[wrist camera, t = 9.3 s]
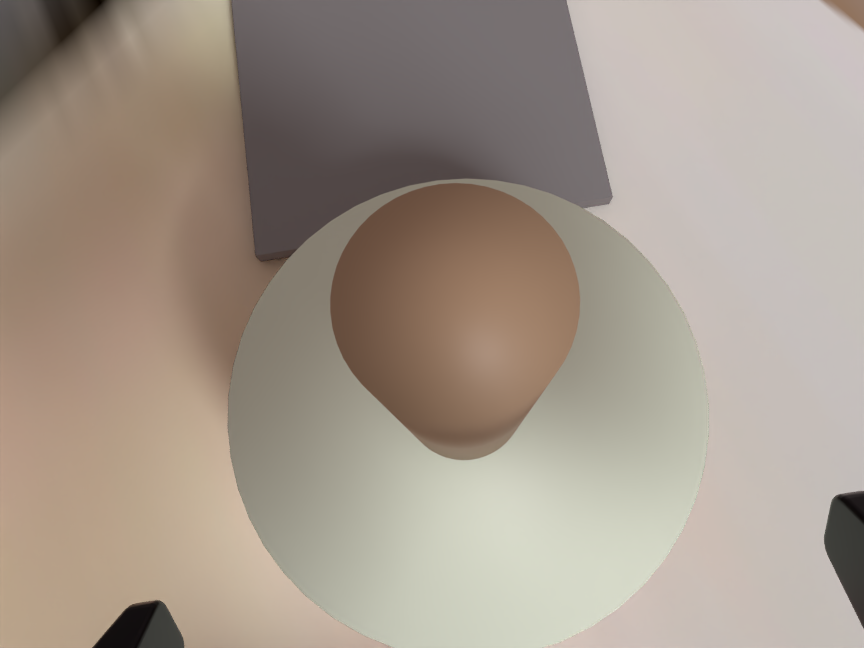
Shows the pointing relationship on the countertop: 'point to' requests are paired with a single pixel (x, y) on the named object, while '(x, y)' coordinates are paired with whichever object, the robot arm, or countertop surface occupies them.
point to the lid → (468, 417)
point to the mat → (406, 105)
